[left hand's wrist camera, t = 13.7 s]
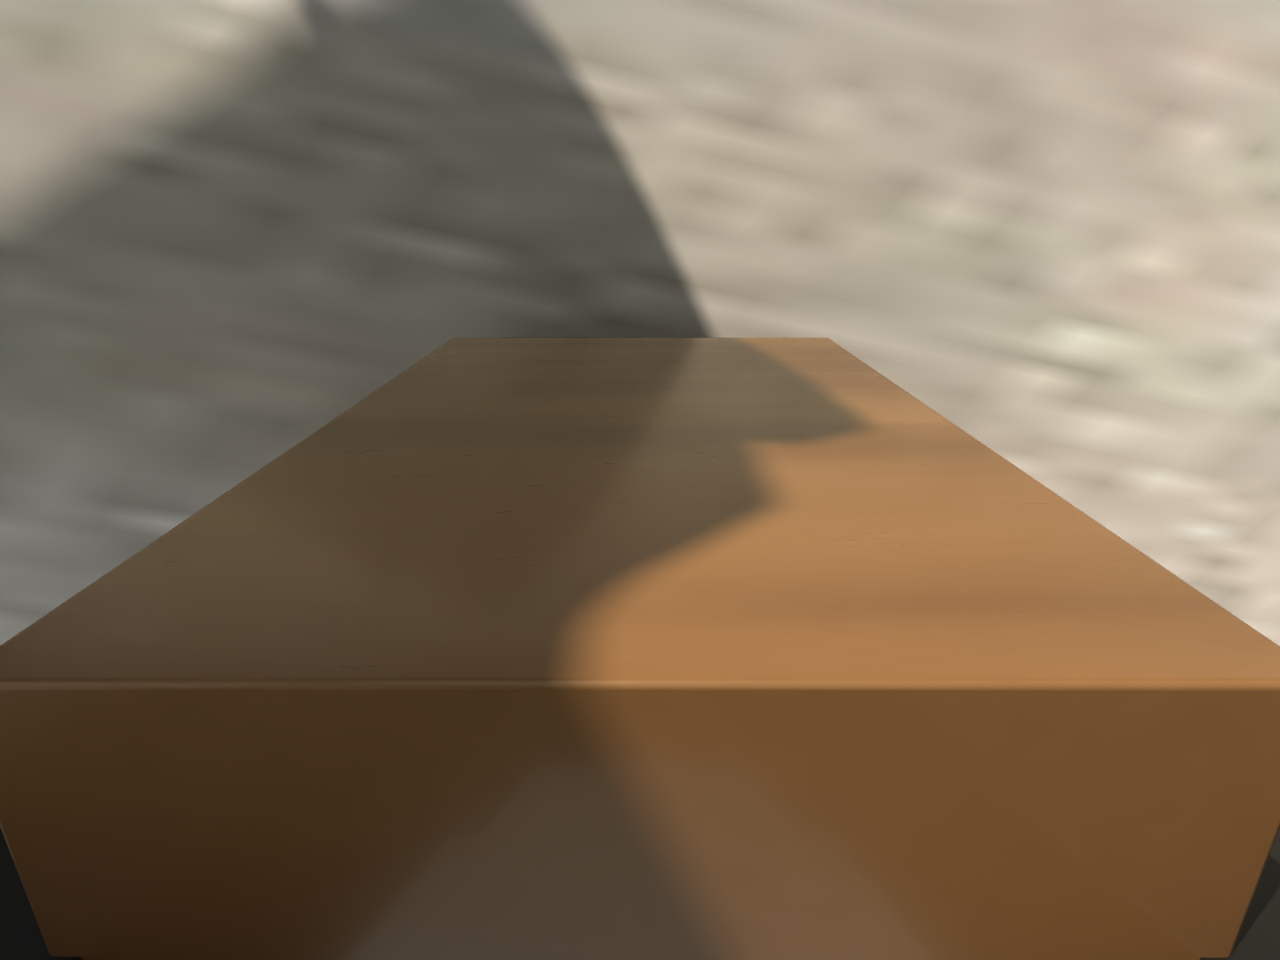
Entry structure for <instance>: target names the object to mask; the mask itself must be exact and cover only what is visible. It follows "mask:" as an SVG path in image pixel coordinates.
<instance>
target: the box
mask: <svg viewBox="0 0 1280 960" xmlns="http://www.w3.org/2000/svg"><path fill="white" fill-rule="evenodd" d="M0 828H1V830H2V833H3V835H4V838H5V841H6V843H7V846H8V848H9V851H10V854H11V856H12V859H13V861H14V864H15V867H16V869H17V872H18V874H19V877H20V880H21V882H22V885H23V887H24V890H25V893H26V895H27V898H28V900H29V903H30V906H31V908H32V911H33V913H34V916H35V919H36V921H37V924H38V926H39V929H40V932H41V934H42V937H43V939H44V942H45V945H46V947H47V950H48V952H49V955H51V956H53V957H81V960H1200V958H1227V957H1229V956H1231V954H1232V951H1233V949H1234V946H1235V943H1236V941H1237V938H1238V936H1239V933H1240V930H1241V928H1242V925H1243V923H1244V920H1245V917H1246V915H1247V912H1248V909H1249V907H1250V904H1251V902H1252V899H1253V896H1254V894H1255V891H1256V889H1257V886H1258V883H1259V881H1260V878H1261V876H1262V873H1263V870H1264V868H1265V865H1266V863H1267V860H1268V857H1269V855H1270V852H1271V850H1272V847H1273V844H1274V842H1275V839H1276V837H1277V834H1278V831H1279V829H1280V646H1278V645H1277V644H1275V643H1274V642H1272V641H1271V640H1270V639H1268V638H1267V637H1265V636H1264V635H1262V634H1261V633H1259V632H1258V631H1256V630H1255V629H1253V628H1252V627H1251V626H1249V625H1248V624H1246V623H1245V622H1243V621H1242V620H1240V619H1239V618H1237V617H1236V616H1234V615H1233V614H1231V613H1230V612H1229V611H1227V610H1226V609H1224V608H1223V607H1221V606H1220V605H1218V604H1217V603H1215V602H1214V601H1212V600H1211V599H1209V598H1208V597H1207V596H1205V595H1204V594H1202V593H1201V592H1199V591H1198V590H1196V589H1195V588H1193V587H1192V586H1190V585H1189V584H1188V583H1186V582H1185V581H1183V580H1182V579H1180V578H1179V577H1177V576H1176V575H1174V574H1173V573H1171V572H1170V571H1168V570H1167V569H1166V568H1164V567H1163V566H1161V565H1160V564H1158V563H1157V562H1155V561H1154V560H1152V559H1151V558H1149V557H1148V556H1147V555H1145V554H1144V553H1142V552H1141V551H1139V550H1138V549H1136V548H1135V547H1133V546H1132V545H1130V544H1129V543H1127V542H1126V541H1125V540H1123V539H1122V538H1120V537H1119V536H1117V535H1116V534H1114V533H1113V532H1111V531H1110V530H1108V529H1107V528H1106V527H1104V526H1103V525H1101V524H1100V523H1098V522H1097V521H1095V520H1094V519H1092V518H1091V517H1089V516H1088V515H1086V514H1085V513H1084V512H1082V511H1081V510H1079V509H1078V508H1076V507H1075V506H1073V505H1072V504H1070V503H1069V502H1067V501H1066V500H1064V499H1063V498H1062V497H1060V496H1059V495H1057V494H1056V493H1054V492H1053V491H1051V490H1050V489H1048V488H1047V487H1045V486H1044V485H1043V484H1041V483H1040V482H1038V481H1037V480H1035V479H1034V478H1032V477H1031V476H1029V475H1028V474H1026V473H1025V472H1023V471H1022V470H1021V469H1019V468H1018V467H1016V466H1015V465H1013V464H1012V463H1010V462H1009V461H1007V460H1006V459H1004V458H1003V457H1002V456H1000V455H999V454H997V453H996V452H994V451H993V450H991V449H990V448H988V447H987V446H985V445H984V444H982V443H981V442H980V441H978V440H977V439H975V438H974V437H972V436H971V435H969V434H968V433H966V432H965V431H963V430H962V429H961V428H959V427H958V426H956V425H955V424H953V423H952V422H950V421H949V420H947V419H946V418H944V417H943V416H941V415H940V414H939V413H937V412H936V411H934V410H933V409H931V408H930V407H928V406H927V405H925V404H924V403H922V402H921V401H919V400H918V399H917V398H915V397H914V396H912V395H911V394H909V393H908V392H906V391H905V390H903V389H902V388H900V387H899V386H898V385H896V384H895V383H893V382H892V381H890V380H889V379H887V378H886V377H884V376H883V375H881V374H880V373H878V372H877V371H876V370H874V369H873V368H871V367H870V366H868V365H867V364H865V363H864V362H862V361H861V360H859V359H858V358H857V357H855V356H854V355H852V354H851V353H849V352H848V351H846V350H845V349H843V348H842V347H840V346H839V345H837V344H836V343H835V342H833V341H832V340H830V339H829V338H453V339H451V340H450V341H449V342H447V343H446V344H444V345H443V346H441V347H440V348H438V349H437V350H435V351H434V352H432V353H431V354H429V355H428V356H426V357H425V358H423V359H422V360H421V361H419V362H418V363H416V364H415V365H413V366H412V367H410V368H409V369H407V370H406V371H404V372H403V373H401V374H400V375H398V376H397V377H395V378H394V379H393V380H391V381H390V382H388V383H387V384H385V385H384V386H382V387H381V388H379V389H378V390H376V391H375V392H373V393H372V394H370V395H369V396H367V397H366V398H365V399H363V400H362V401H360V402H359V403H357V404H356V405H354V406H353V407H351V408H350V409H348V410H347V411H345V412H344V413H342V414H341V415H339V416H338V417H337V418H335V419H334V420H332V421H331V422H329V423H328V424H326V425H325V426H323V427H322V428H320V429H319V430H317V431H316V432H314V433H313V434H311V435H310V436H309V437H307V438H306V439H304V440H303V441H301V442H300V443H298V444H297V445H295V446H294V447H292V448H291V449H289V450H288V451H286V452H285V453H283V454H282V455H281V456H279V457H278V458H276V459H275V460H273V461H272V462H270V463H269V464H267V465H266V466H264V467H263V468H261V469H260V470H258V471H257V472H255V473H254V474H253V475H251V476H250V477H248V478H247V479H245V480H244V481H242V482H241V483H239V484H238V485H236V486H235V487H233V488H232V489H230V490H229V491H228V492H226V493H225V494H223V495H222V496H220V497H219V498H217V499H216V500H214V501H213V502H211V503H210V504H208V505H207V506H205V507H204V508H202V509H201V510H200V511H198V512H197V513H195V514H194V515H192V516H191V517H189V518H188V519H186V520H185V521H183V522H182V523H180V524H179V525H177V526H176V527H174V528H173V529H172V530H170V531H169V532H167V533H166V534H164V535H163V536H161V537H160V538H158V539H157V540H155V541H154V542H152V543H151V544H149V545H148V546H146V547H145V548H144V549H142V550H141V551H139V552H138V553H136V554H135V555H133V556H132V557H130V558H129V559H127V560H126V561H124V562H123V563H121V564H120V565H118V566H117V567H116V568H114V569H113V570H111V571H110V572H108V573H107V574H105V575H104V576H102V577H101V578H99V579H98V580H96V581H95V582H93V583H92V584H90V585H89V586H88V587H86V588H85V589H83V590H82V591H80V592H79V593H77V594H76V595H74V596H73V597H71V598H70V599H68V600H67V601H65V602H64V603H62V604H61V605H60V606H58V607H57V608H55V609H54V610H52V611H51V612H49V613H48V614H46V615H45V616H43V617H42V618H40V619H39V620H37V621H36V622H34V623H33V624H32V625H30V626H29V627H27V628H26V629H24V630H23V631H21V632H20V633H18V634H17V635H15V636H14V637H12V638H11V639H9V640H8V641H6V642H5V643H4V644H2V645H1V646H0Z"/></svg>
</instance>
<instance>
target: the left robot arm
mask: <svg viewBox="0 0 1280 960" xmlns="http://www.w3.org/2000/svg"><path fill="white" fill-rule="evenodd" d="M0 960H81V957H53V956H51V955H49V952H48V950H47V947H46V945H45V942H44V939H43V937H42V934H41V932H40V929H39V926H38V924H37V921H36V919H35V916H34V913H33V911H32V908H31V906H30V903H29V900H28V898H27V895H26V893H25V890H24V887H23V885H22V882H21V880H20V877H19V874H18V872H17V869H16V867H15V864H14V861H13V859H12V856H11V854H10V851H9V848H8V846H7V843H6V841H5V838H4V835H3V833H2V830H1V828H0ZM1200 960H1280V829H1279V831H1278V834H1277V837H1276V839H1275V842H1274V844H1273V847H1272V850H1271V852H1270V855H1269V857H1268V860H1267V863H1266V865H1265V868H1264V870H1263V873H1262V876H1261V878H1260V881H1259V883H1258V886H1257V889H1256V891H1255V894H1254V896H1253V899H1252V902H1251V904H1250V907H1249V909H1248V912H1247V915H1246V917H1245V920H1244V923H1243V925H1242V928H1241V930H1240V933H1239V936H1238V938H1237V941H1236V943H1235V946H1234V949H1233V951H1232V954H1231V956H1229V957H1227V958H1200Z"/></svg>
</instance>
